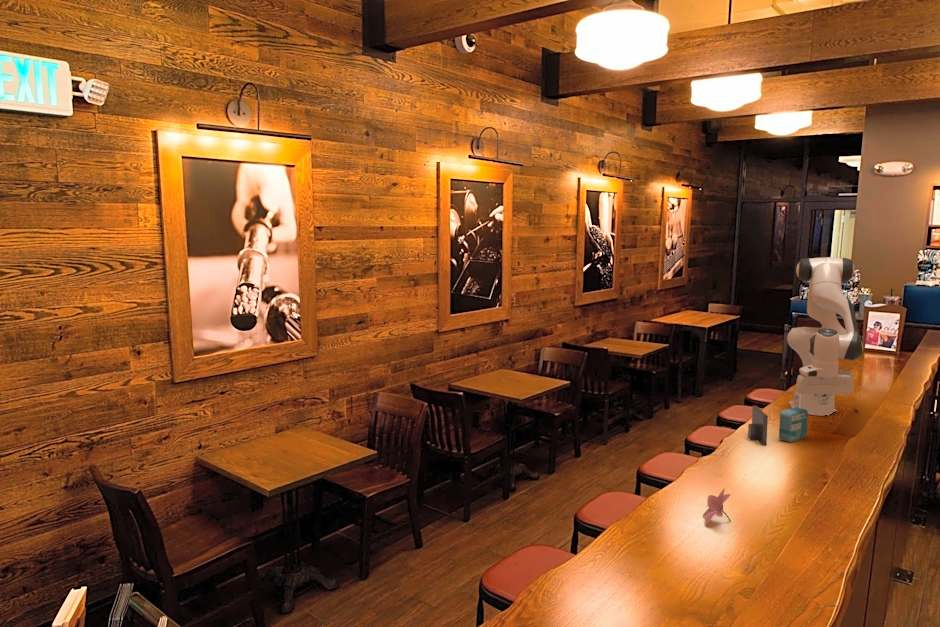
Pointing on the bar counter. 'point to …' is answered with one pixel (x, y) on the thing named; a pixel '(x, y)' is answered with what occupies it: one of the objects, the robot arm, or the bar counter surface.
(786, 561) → the bar counter surface
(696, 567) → the bar counter surface
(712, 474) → the bar counter surface
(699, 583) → the bar counter surface
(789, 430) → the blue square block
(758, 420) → the bookend
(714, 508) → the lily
